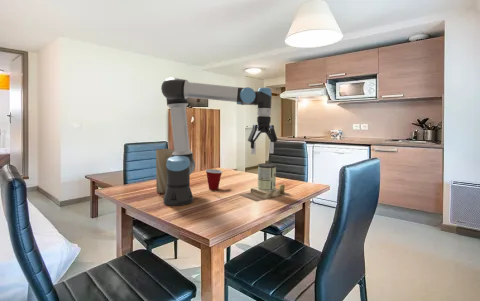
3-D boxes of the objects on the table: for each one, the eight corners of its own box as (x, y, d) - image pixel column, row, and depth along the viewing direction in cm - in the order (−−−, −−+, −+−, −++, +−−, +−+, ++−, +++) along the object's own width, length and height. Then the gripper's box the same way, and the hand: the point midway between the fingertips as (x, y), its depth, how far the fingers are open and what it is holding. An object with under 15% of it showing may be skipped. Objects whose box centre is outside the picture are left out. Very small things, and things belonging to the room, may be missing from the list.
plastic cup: (221, 191, 166) (222, 171, 164) (204, 190, 166) (204, 171, 165) (223, 187, 176) (223, 168, 175) (206, 186, 177) (206, 168, 175)
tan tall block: (163, 193, 158) (163, 150, 155) (153, 190, 164) (152, 149, 161) (176, 190, 166) (176, 149, 163) (166, 187, 172) (166, 148, 169)
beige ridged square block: (264, 198, 146) (264, 192, 146) (250, 193, 156) (250, 188, 155) (280, 195, 153) (280, 189, 153) (265, 190, 163) (266, 185, 163)
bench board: (256, 204, 140) (256, 192, 139) (238, 197, 153) (238, 186, 152) (290, 196, 156) (291, 185, 155) (271, 190, 168) (271, 180, 168)
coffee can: (257, 186, 160) (258, 162, 159) (275, 187, 159) (276, 163, 158) (257, 190, 150) (257, 165, 148) (275, 191, 149) (276, 166, 147)
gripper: (250, 115, 141) (249, 155, 144) (284, 116, 156) (282, 153, 158) (242, 115, 147) (241, 153, 150) (275, 116, 162) (273, 152, 164)
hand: (262, 153), depth 154 cm, fingers open, 13 cm apart
